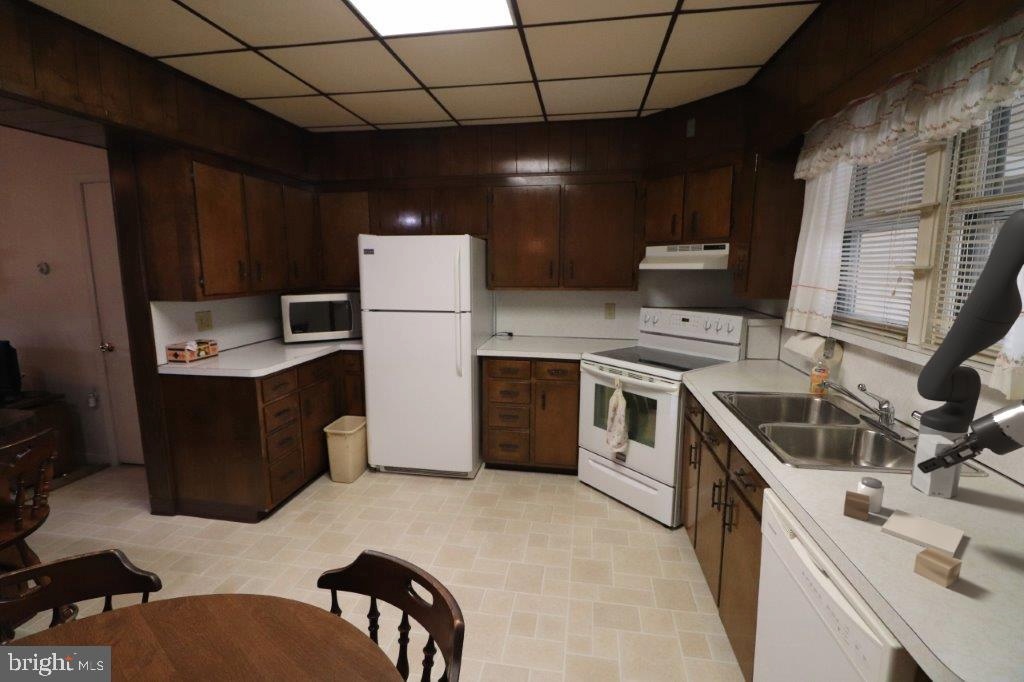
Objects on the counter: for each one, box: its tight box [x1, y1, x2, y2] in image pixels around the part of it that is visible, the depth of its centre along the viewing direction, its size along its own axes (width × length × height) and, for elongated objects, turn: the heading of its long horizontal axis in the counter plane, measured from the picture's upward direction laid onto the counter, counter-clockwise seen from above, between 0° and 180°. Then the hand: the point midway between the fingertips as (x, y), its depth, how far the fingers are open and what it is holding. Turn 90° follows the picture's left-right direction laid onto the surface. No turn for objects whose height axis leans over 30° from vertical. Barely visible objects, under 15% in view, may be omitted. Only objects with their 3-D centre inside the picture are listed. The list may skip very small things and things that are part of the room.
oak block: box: [913, 547, 963, 589], centre depth 91 cm, size 5×5×4 cm
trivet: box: [880, 509, 965, 558], centre depth 105 cm, size 12×12×1 cm
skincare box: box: [911, 434, 956, 499], centre depth 102 cm, size 6×4×12 cm
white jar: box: [856, 476, 885, 514], centre depth 116 cm, size 5×5×7 cm
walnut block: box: [843, 490, 870, 522], centre depth 113 cm, size 4×4×4 cm
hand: (925, 464), depth 103 cm, fingers closed on skincare box, 7 cm apart
